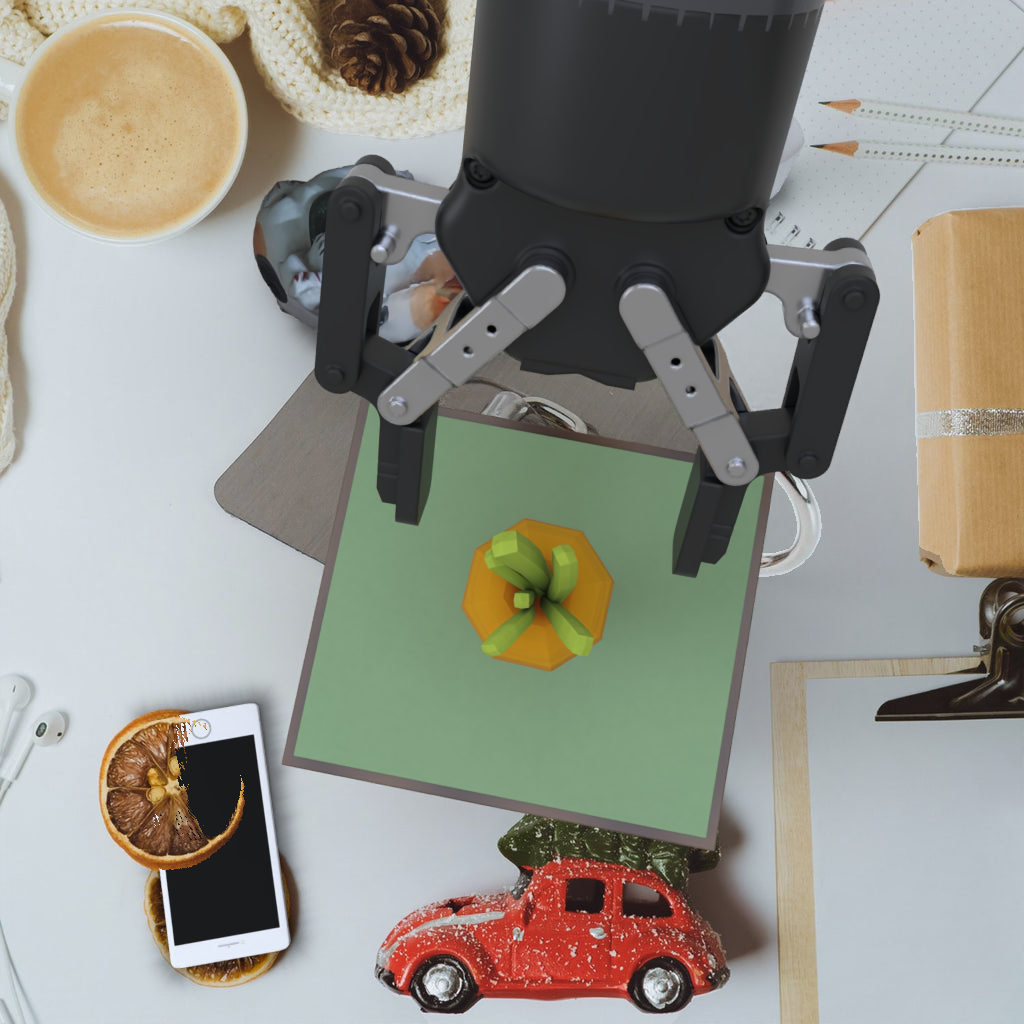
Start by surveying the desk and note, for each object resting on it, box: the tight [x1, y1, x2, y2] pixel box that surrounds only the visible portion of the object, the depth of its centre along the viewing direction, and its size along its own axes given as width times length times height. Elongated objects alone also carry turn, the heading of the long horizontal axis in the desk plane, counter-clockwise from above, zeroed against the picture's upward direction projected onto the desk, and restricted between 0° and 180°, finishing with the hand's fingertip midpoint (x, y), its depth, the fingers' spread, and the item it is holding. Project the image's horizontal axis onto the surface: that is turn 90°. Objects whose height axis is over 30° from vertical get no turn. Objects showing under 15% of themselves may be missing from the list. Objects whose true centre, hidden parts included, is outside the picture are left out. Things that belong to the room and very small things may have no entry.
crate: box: [281, 396, 776, 852], centre depth 57 cm, size 18×16×28 cm
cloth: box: [294, 403, 764, 838], centre depth 43 cm, size 17×15×1 cm
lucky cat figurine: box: [252, 164, 463, 349], centre depth 69 cm, size 15×12×14 cm
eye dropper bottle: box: [769, 115, 805, 201], centre depth 69 cm, size 4×6×12 cm
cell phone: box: [152, 702, 292, 969], centre depth 69 cm, size 8×16×1 cm, turn 10°
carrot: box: [461, 518, 614, 672], centre depth 36 cm, size 5×5×15 cm
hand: (548, 534), depth 32 cm, fingers open, 8 cm apart
